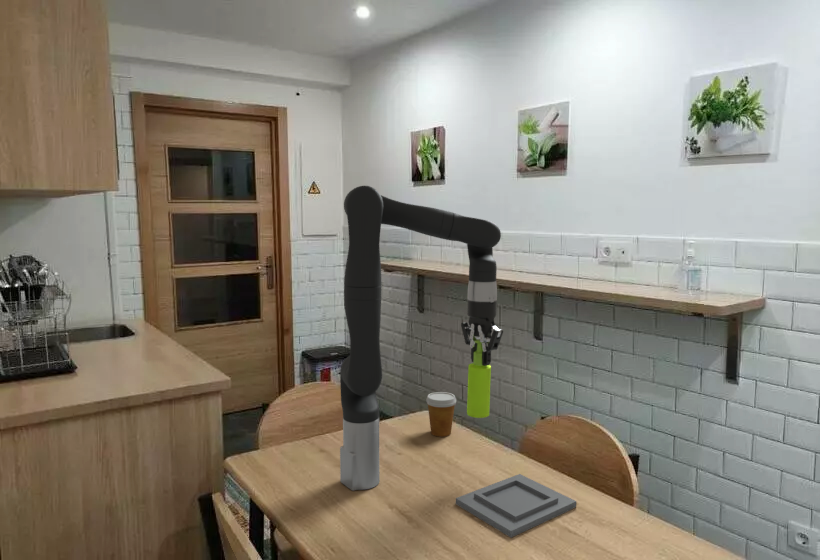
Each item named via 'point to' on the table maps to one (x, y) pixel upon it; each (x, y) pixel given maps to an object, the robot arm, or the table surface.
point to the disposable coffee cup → (441, 413)
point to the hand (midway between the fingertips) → (480, 363)
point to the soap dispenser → (478, 385)
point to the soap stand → (515, 504)
